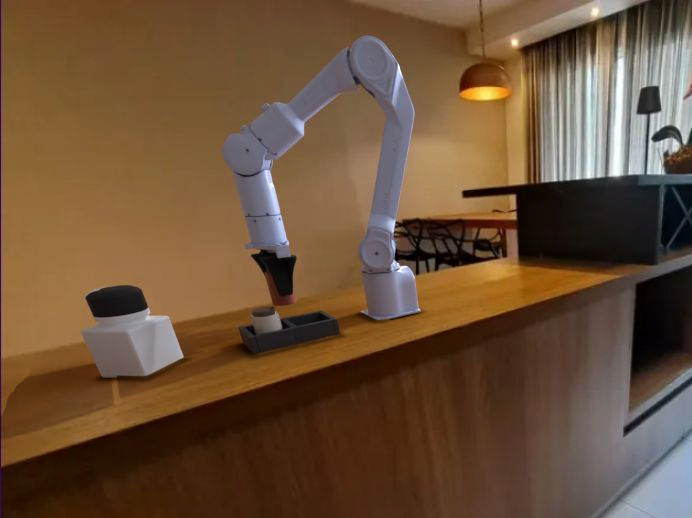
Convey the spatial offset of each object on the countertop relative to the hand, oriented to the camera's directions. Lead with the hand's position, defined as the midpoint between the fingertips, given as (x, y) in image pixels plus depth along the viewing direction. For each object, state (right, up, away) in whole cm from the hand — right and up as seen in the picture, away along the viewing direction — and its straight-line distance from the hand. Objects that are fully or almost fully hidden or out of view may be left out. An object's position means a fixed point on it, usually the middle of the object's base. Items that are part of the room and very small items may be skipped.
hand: (282, 292), depth 82 cm
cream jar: (+3, -10, -10) cm, 14 cm away
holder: (+6, -10, -7) cm, 14 cm away
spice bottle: (0, -2, +1) cm, 2 cm away
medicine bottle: (-11, -15, -17) cm, 25 cm away
